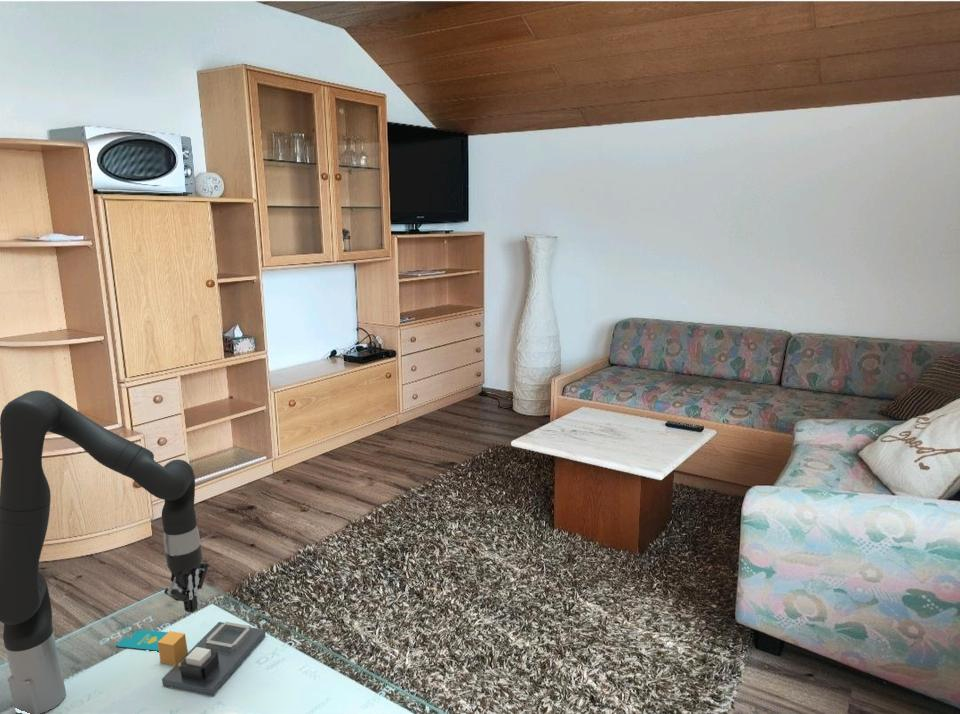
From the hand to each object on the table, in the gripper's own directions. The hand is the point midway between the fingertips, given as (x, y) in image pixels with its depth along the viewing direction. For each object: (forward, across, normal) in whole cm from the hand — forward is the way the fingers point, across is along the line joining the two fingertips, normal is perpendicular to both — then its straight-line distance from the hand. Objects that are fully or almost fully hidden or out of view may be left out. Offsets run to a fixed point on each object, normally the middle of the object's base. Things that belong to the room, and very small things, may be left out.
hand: (191, 610), depth 158 cm
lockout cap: (+19, -4, -11) cm, 22 cm away
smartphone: (+19, -8, -22) cm, 30 cm away
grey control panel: (+19, -6, 0) cm, 20 cm away
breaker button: (+16, 0, 0) cm, 16 cm away
